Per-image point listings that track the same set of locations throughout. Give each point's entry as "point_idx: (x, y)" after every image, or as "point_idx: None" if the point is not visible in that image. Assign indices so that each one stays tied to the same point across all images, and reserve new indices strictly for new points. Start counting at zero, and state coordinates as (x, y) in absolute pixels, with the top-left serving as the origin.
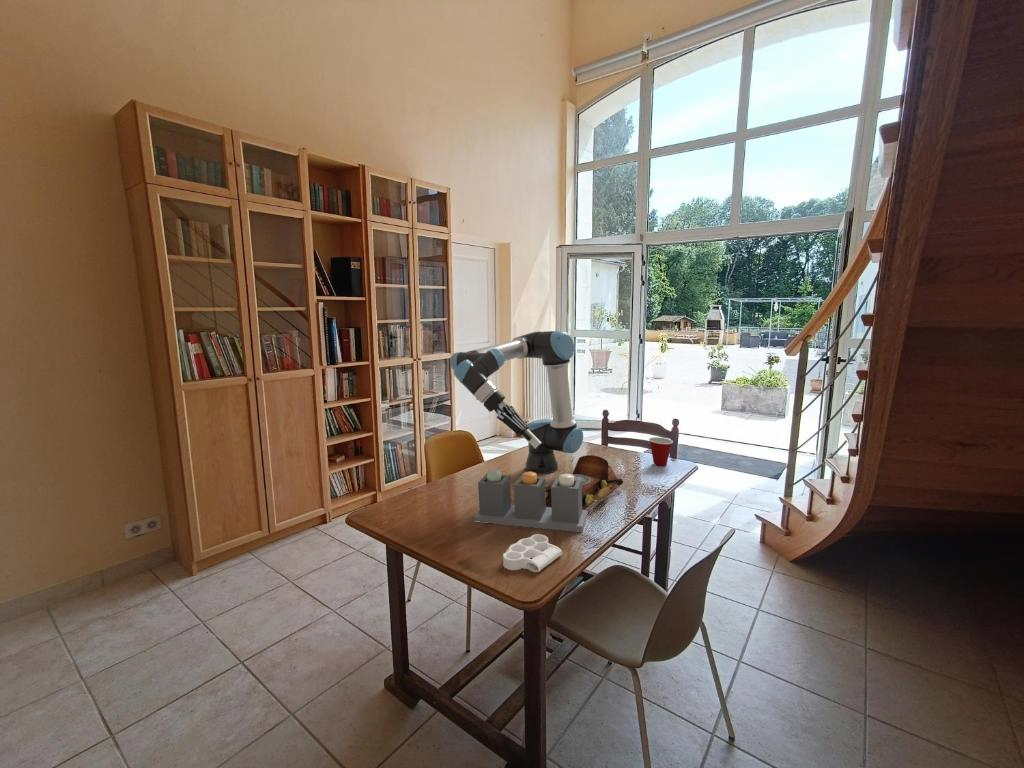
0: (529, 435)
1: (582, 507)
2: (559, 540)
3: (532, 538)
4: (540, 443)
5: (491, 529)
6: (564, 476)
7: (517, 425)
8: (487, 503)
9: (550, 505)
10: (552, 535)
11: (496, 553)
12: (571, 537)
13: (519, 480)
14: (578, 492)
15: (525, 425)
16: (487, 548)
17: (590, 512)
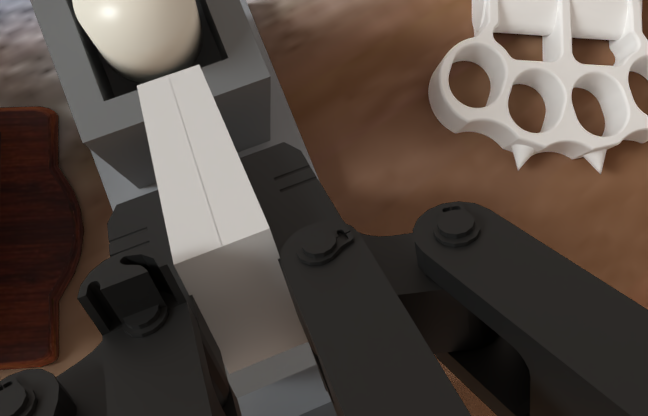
0: (272, 183)
1: (6, 109)
2: (366, 52)
3: (496, 103)
4: (195, 66)
5: (459, 384)
6: (145, 6)
7: (605, 298)
8: None
9: (64, 281)
10: (344, 101)
11: (609, 213)
12: (313, 22)
13: (277, 359)
14: None
15: (119, 373)
16: (602, 274)
17: (17, 67)
